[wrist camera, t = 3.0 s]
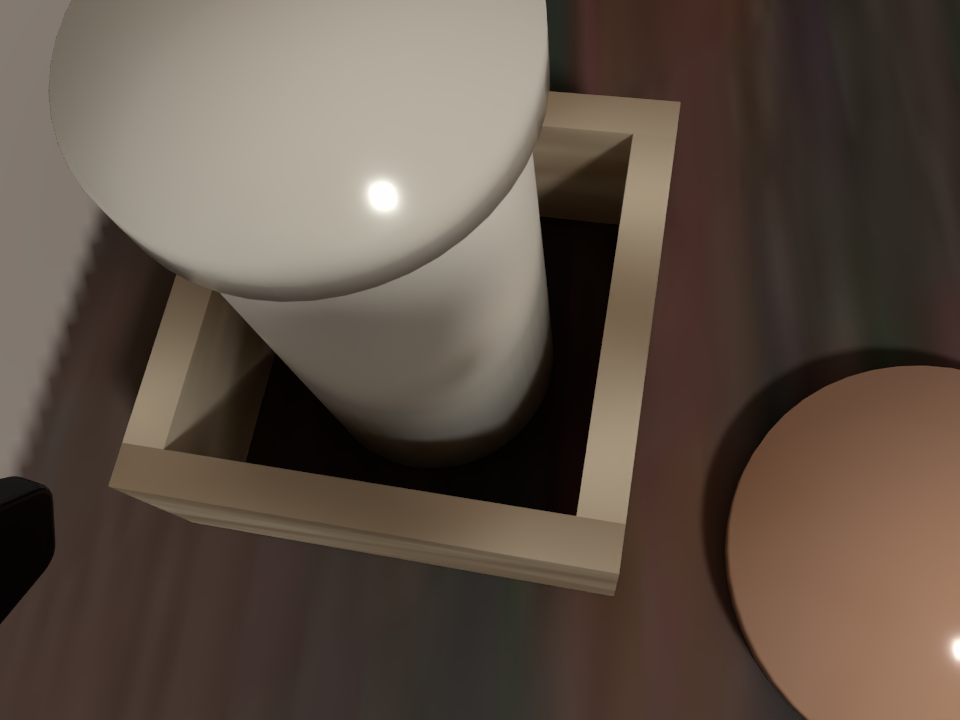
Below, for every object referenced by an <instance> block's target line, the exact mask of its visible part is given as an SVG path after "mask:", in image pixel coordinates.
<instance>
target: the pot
mask: <svg viewBox="0 0 960 720" xmlns="http://www.w3.org/2000/svg"><path fill="white" fill-rule="evenodd" d="M549 89H550V60H549V44H548V29H547V14H546V1H545V0H72V1H71V3H70V5H69V7H68V9H67V11H66V13H65V15H64V18H63V21H62V24H61V26H60V29H59V32H58V35H57V37H56V41H55V46H54V51H53V55H52V60H51V65H50V80H49V99H50V111H51V119H52V123H53V127H54V131H55V135H56V139H57V143H58V145H59V147H60V150H61V152H62V154H63V156H64V159H65V161H66V163H67V165H68V167H69V169H70V170H71V172H72V174H73V175H74V177H75V178H76V180H77V181H78V183H79V184H80V186H81V187H82V189H83V190H84V191H85V192H86V193H87V194H88V195H89V197H90V198H91V199H92V200H93V201H94V202H95V203H96V204H97V205H98V206H99V207H100V208H101V209H102V210H103V211H104V212H105V213H106V214H107V215H108V216H109V217H110V218H111V219H112V220H113V221H114V222H115V223H116V224H117V225H118V226H119V227H120V228H121V229H122V230H123V231H124V232H125V233H126V234H127V235H128V236H129V237H130V238H131V239H132V240H133V241H134V242H135V243H136V244H137V245H138V246H139V247H140V248H141V249H142V250H143V251H144V252H145V253H147V254H148V255H149V256H151V257H152V258H153V259H155V260H156V261H157V262H158V263H160V264H161V265H162V266H164V267H165V268H166V269H168V270H170V271H172V272H174V273H175V274H177V275H179V276H181V277H183V278H185V279H186V280H188V281H190V282H192V283H195V284H197V285H200V286H203V287H205V288H208V289H211V290H214V291H216V292H219V293H220V294H221V295H222V296H223V297H224V298H225V299H226V300H227V301H228V302H229V303H230V305H231V306H232V307H233V308H234V309H235V310H236V311H237V312H238V313H239V314H240V315H241V316H242V317H243V319H244V320H245V321H246V322H247V323H248V324H249V325H250V326H251V327H252V328H253V329H254V330H255V331H256V332H257V334H258V335H259V336H260V337H261V338H262V339H263V340H264V341H265V342H266V343H267V344H268V345H269V346H270V348H271V349H272V350H273V351H274V352H275V353H276V354H277V355H278V356H279V357H280V358H281V359H282V360H283V362H284V363H285V364H286V365H287V366H288V367H289V368H290V369H291V370H292V371H293V372H294V373H295V374H296V376H297V377H298V378H299V379H300V380H301V381H302V382H303V383H304V384H305V385H306V386H307V387H308V388H309V390H310V391H311V392H312V393H313V394H314V395H315V396H316V397H317V398H318V399H319V400H320V401H321V402H322V403H323V405H324V406H325V407H326V408H327V409H328V410H329V411H330V412H331V413H332V414H333V415H334V416H335V417H336V419H337V420H338V421H339V422H340V423H341V424H342V425H343V426H344V427H345V428H346V429H347V430H348V431H349V432H350V433H351V435H352V436H353V437H354V438H355V439H356V440H357V441H358V442H360V443H361V444H362V445H364V446H365V447H366V448H367V449H369V450H370V451H372V452H374V453H375V454H377V455H379V456H381V457H382V458H385V459H387V460H390V461H392V462H395V463H398V464H402V465H406V466H410V467H417V468H426V469H431V468H448V467H455V466H460V465H463V464H467V463H470V462H474V461H476V460H478V459H481V458H483V457H486V456H488V455H490V454H491V453H493V452H495V451H496V450H498V449H500V448H502V447H503V446H504V445H505V444H507V443H508V442H509V441H511V440H512V439H513V438H514V437H515V436H516V435H517V434H518V433H519V432H520V431H522V430H523V429H524V428H525V426H526V425H527V424H528V423H529V421H530V420H531V419H532V417H533V416H534V415H535V413H536V411H537V410H538V408H539V406H540V405H541V403H542V401H543V398H544V396H545V394H546V391H547V389H548V386H549V382H550V378H551V375H552V368H553V360H554V355H553V337H552V328H551V318H550V309H549V300H548V291H547V281H546V272H545V263H544V253H543V244H542V235H541V226H540V216H539V207H538V198H537V188H536V179H535V170H534V160H533V150H534V148H535V146H536V143H537V141H538V139H539V135H540V132H541V129H542V125H543V122H544V119H545V115H546V111H547V104H548V97H549Z"/></svg>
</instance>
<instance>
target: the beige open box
mask: <svg viewBox="0 0 960 720" xmlns="http://www.w3.org/2000/svg"><path fill="white" fill-rule="evenodd" d="M680 103H681V102H673V101H661V100H649V99H637V98H625V97H612V96H600V95H588V94H576V93H564V92H551V91H549V97H548V104H547V111H546V115H545V119H544V122H543V125H542V129H541V132H540V135H539V139H538V141H537V143H536V146H535V148H534V150H533V160H534V170H535V179H536V188H537V198H538V207H539V216H540V217H550V218H559V219H569V220H578V221H587V222H597V223H606V224H616V225H620V226H619V233H618V240H617V246H616V253H615V260H614V267H613V273H612V280H611V287H610V294H609V300H608V307H607V314H606V321H605V327H604V334H603V341H602V348H601V354H600V361H599V368H598V374H597V381H596V388H595V395H594V401H593V408H592V415H591V422H590V428H589V435H588V442H587V449H586V455H585V462H584V469H583V476H582V482H581V489H580V496H579V502H578V509H577V516H572V515H566V514H560V513H554V512H548V511H541V510H535V509H529V508H523V507H517V506H510V505H504V504H498V503H492V502H486V501H480V500H473V499H467V498H461V497H455V496H449V495H442V494H436V493H430V492H424V491H418V490H412V489H405V488H399V487H393V486H387V485H381V484H374V483H368V482H362V481H356V480H350V479H344V478H337V477H331V476H325V475H319V474H313V473H306V472H300V471H294V470H288V469H282V468H276V467H269V466H263V465H257V464H251V463H246V459H247V456H248V452H249V448H250V445H251V441H252V437H253V434H254V430H255V426H256V423H257V419H258V415H259V412H260V408H261V404H262V401H263V397H264V394H265V390H266V386H267V383H268V379H269V375H270V372H271V368H272V364H273V361H274V357H275V352H274V351H273V350H272V349H271V348H270V346H269V345H268V344H267V343H266V342H265V341H264V340H263V339H262V338H261V337H260V336H259V335H258V334H257V332H256V331H255V330H254V329H253V328H252V327H251V326H250V325H249V324H248V323H247V322H246V321H245V320H244V319H243V317H242V316H241V315H240V314H239V313H238V312H237V311H236V310H235V309H234V308H233V307H232V306H231V305H230V303H229V302H228V301H227V300H226V299H225V298H224V297H223V296H222V295H221V294H220V293H219V292H216V291H214V290H211V289H208V288H205V287H203V286H200V285H197V284H195V283H192V282H190V281H188V280H186V279H185V278H183V277H181V276H179V275H177V274H176V277H175V280H174V284H173V287H172V290H171V293H170V296H169V299H168V302H167V305H166V308H165V312H164V315H163V318H162V321H161V324H160V327H159V330H158V333H157V336H156V340H155V343H154V346H153V349H152V352H151V355H150V358H149V361H148V364H147V368H146V371H145V374H144V377H143V380H142V383H141V386H140V389H139V392H138V396H137V399H136V402H135V405H134V408H133V411H132V414H131V417H130V420H129V424H128V427H127V430H126V433H125V436H124V439H123V442H122V445H121V448H120V452H119V455H118V458H117V461H116V464H115V467H114V470H113V473H112V476H111V480H110V483H109V487H111V488H113V489H116V490H118V491H120V492H123V493H125V494H127V495H130V496H132V497H134V498H137V499H139V500H141V501H144V502H146V503H149V504H151V505H153V506H156V507H158V508H160V509H163V510H165V511H167V512H170V513H172V514H174V515H177V516H179V517H181V518H184V519H186V520H188V521H191V522H194V523H199V524H205V525H211V526H216V527H222V528H228V529H233V530H239V531H245V532H251V533H256V534H262V535H268V536H273V537H279V538H285V539H290V540H296V541H302V542H308V543H313V544H319V545H325V546H330V547H336V548H342V549H347V550H353V551H359V552H364V553H370V554H376V555H382V556H387V557H393V558H399V559H404V560H410V561H416V562H421V563H427V564H433V565H439V566H444V567H450V568H456V569H461V570H467V571H473V572H478V573H484V574H490V575H495V576H501V577H507V578H513V579H518V580H524V581H530V582H535V583H541V584H547V585H552V586H558V587H564V588H570V589H575V590H581V591H587V592H592V593H598V594H604V595H609V596H614V593H615V589H616V585H617V581H618V576H619V571H620V563H621V556H622V548H623V540H624V533H625V525H626V517H627V510H628V502H629V494H630V487H631V479H632V471H633V464H634V456H635V448H636V441H637V433H638V425H639V417H640V410H641V402H642V394H643V387H644V379H645V371H646V364H647V356H648V348H649V341H650V333H651V325H652V318H653V310H654V302H655V295H656V287H657V279H658V272H659V264H660V256H661V249H662V241H663V233H664V226H665V218H666V210H667V203H668V195H669V187H670V179H671V172H672V164H673V156H674V149H675V141H676V133H677V126H678V118H679V110H680Z"/></svg>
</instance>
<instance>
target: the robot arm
mask: <svg viewBox="0 0 960 720" xmlns="http://www.w3.org/2000/svg"><path fill="white" fill-rule="evenodd" d="M54 551H55V526H54V506H53V495H52V493H51V491H50V490H49V488H47V487H46V486H45V485H43V484H40V483H37V482H34V481H31V480H28V479H25V478H22V477H17V476H12V477H7V478H2V479H0V624H1V623H2V622H3V620H4V619H5V618H6V617H7V616H8V614H9V613H10V612H11V611H12V610H13V608H14V607H15V606H16V605H17V604H18V602H19V601H20V600H21V599H22V598H23V596H24V595H25V594H26V593H27V592H28V590H29V589H30V588H31V587H32V585H33V584H34V583H35V582H36V581H37V579H38V578H39V577H40V576H41V575H42V573H43V572H44V571H45V570H46V568H47V567H48V565H49V563H50V562H51V560H52V557H53V555H54Z"/></svg>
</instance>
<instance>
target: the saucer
mask: <svg viewBox="0 0 960 720" xmlns="http://www.w3.org/2000/svg"><path fill="white" fill-rule="evenodd" d="M725 564H726V577H727V583H728V588H729V593H730V597H731V602H732V606H733V609H734V612H735V615H736V618H737V621H738V624H739V627H740V629H741V632H742V634H743V636H744V638H745V640H746V642H747V644H748V647H749V649H750V651H751V653H752V655H753V657H754V659H755V660H756V662H757V663H758V665H759V666H760V668H761V669H762V671H763V672H764V674H765V675H766V677H767V679H768V680H769V682H770V683H771V684H772V685H773V687H774V688H775V689H776V690H777V691H778V693H779V694H780V695H781V696H782V698H783V699H784V700H785V701H786V702H787V704H788V705H789V706H790V707H791V708H792V709H793V710H794V711H795V712H796V713H797V714H799V715H800V716H801V717H802V718H803V719H804V720H960V370H959V369H954V368H946V367H935V366H897V367H890V368H883V369H876V370H871V371H867V372H864V373H860V374H857V375H853V376H849V377H847V378H844V379H842V380H840V381H837V382H835V383H833V384H830V385H828V386H825V387H824V388H822V389H820V390H819V391H817V392H815V393H814V394H812V395H810V396H809V397H807V398H805V399H804V400H802V401H801V402H800V403H799V404H797V405H796V406H795V407H794V408H792V409H791V410H790V411H789V412H787V413H786V414H785V415H784V416H783V417H782V418H781V419H780V420H779V421H778V422H777V423H776V424H775V426H774V427H773V428H772V429H771V430H770V431H769V432H768V433H767V435H766V436H765V438H764V439H763V440H762V442H761V443H760V445H759V446H758V448H757V449H756V450H755V452H754V453H753V455H752V456H751V458H750V459H749V461H748V463H747V465H746V467H745V469H744V471H743V473H742V475H741V477H740V479H739V481H738V484H737V486H736V489H735V492H734V495H733V498H732V501H731V504H730V510H729V515H728V520H727V525H726V537H725Z"/></svg>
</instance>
